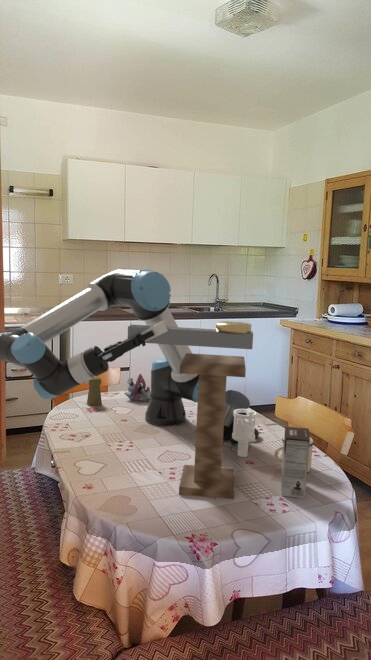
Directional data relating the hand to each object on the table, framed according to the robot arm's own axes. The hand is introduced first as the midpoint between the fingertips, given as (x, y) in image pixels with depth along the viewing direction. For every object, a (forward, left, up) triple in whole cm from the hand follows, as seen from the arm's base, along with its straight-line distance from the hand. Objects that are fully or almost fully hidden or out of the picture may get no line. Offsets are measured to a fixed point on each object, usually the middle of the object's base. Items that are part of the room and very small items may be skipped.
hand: (166, 325), depth 131 cm
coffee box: (-28, +22, -43) cm, 56 cm away
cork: (-14, -73, -43) cm, 86 cm away
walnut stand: (-10, +8, -43) cm, 44 cm away
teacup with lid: (-38, +12, -43) cm, 58 cm away
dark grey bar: (-5, +4, -5) cm, 8 cm away
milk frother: (-39, -17, -41) cm, 60 cm away
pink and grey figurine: (-33, -71, -43) cm, 89 cm away
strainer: (-32, -3, -43) cm, 53 cm away
